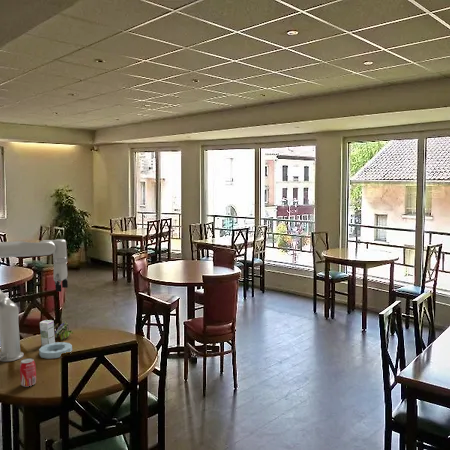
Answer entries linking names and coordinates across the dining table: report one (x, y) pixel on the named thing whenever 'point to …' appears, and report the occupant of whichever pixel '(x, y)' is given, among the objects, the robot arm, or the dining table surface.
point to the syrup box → (47, 332)
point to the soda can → (27, 372)
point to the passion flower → (63, 328)
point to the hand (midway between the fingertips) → (61, 289)
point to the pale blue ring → (47, 349)
